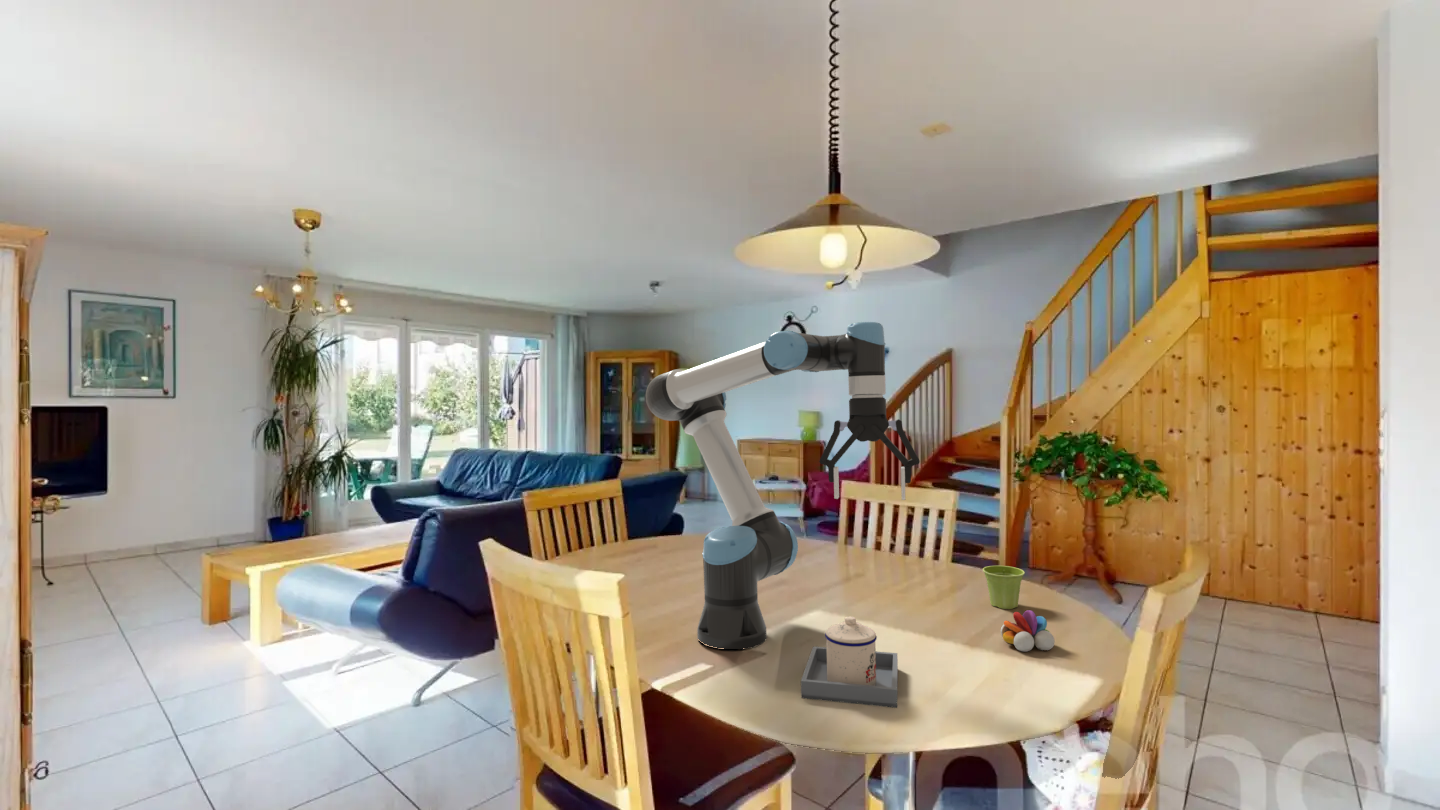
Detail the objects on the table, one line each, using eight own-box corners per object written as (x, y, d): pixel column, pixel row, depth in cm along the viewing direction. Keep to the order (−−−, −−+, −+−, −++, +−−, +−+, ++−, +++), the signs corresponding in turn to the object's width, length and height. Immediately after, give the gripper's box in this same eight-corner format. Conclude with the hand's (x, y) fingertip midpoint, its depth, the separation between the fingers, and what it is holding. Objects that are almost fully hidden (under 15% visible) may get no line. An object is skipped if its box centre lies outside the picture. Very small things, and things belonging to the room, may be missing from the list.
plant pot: (1030, 612, 152) (1029, 575, 151) (988, 611, 153) (988, 575, 153) (1018, 600, 161) (1017, 565, 161) (979, 599, 162) (978, 565, 162)
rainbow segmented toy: (994, 639, 135) (993, 605, 135) (1038, 637, 136) (1037, 603, 136) (1015, 655, 127) (1014, 618, 127) (1062, 652, 127) (1061, 616, 127)
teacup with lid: (878, 695, 109) (877, 628, 109) (824, 691, 111) (823, 625, 111) (876, 667, 121) (875, 605, 121) (827, 663, 123) (826, 603, 123)
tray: (801, 698, 110) (800, 680, 110) (813, 661, 126) (813, 646, 126) (897, 708, 106) (896, 689, 106) (897, 668, 121) (897, 653, 121)
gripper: (929, 395, 133) (931, 496, 133) (810, 398, 140) (812, 494, 140) (930, 395, 126) (933, 502, 126) (805, 398, 133) (807, 500, 133)
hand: (869, 498), depth 133 cm, fingers open, 13 cm apart
